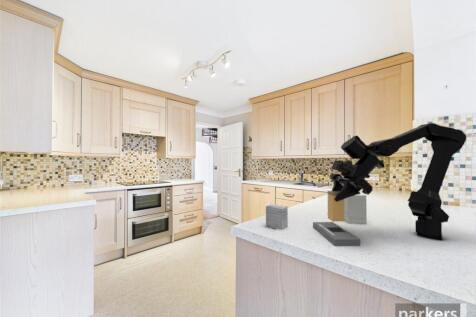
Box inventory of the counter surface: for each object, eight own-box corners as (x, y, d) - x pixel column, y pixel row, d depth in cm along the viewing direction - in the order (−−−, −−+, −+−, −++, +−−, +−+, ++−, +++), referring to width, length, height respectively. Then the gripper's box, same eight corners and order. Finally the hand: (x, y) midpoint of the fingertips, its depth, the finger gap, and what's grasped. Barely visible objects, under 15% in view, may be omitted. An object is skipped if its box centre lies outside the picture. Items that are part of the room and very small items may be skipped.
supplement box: (367, 225, 85) (367, 195, 85) (347, 224, 87) (347, 194, 87) (360, 220, 92) (360, 192, 92) (342, 219, 94) (342, 192, 94)
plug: (338, 218, 75) (338, 190, 75) (344, 221, 71) (344, 192, 71) (327, 218, 75) (327, 191, 75) (333, 221, 71) (332, 192, 71)
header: (332, 228, 82) (332, 221, 82) (360, 247, 64) (360, 238, 64) (313, 228, 82) (312, 221, 82) (335, 247, 64) (334, 238, 64)
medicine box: (288, 228, 82) (288, 206, 82) (282, 231, 79) (282, 208, 79) (271, 224, 88) (271, 203, 88) (265, 226, 84) (265, 205, 84)
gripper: (333, 153, 83) (307, 181, 82) (362, 151, 64) (328, 187, 64) (353, 172, 83) (326, 200, 82) (387, 176, 64) (353, 212, 64)
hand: (332, 199), depth 73 cm, fingers closed on plug, 4 cm apart
